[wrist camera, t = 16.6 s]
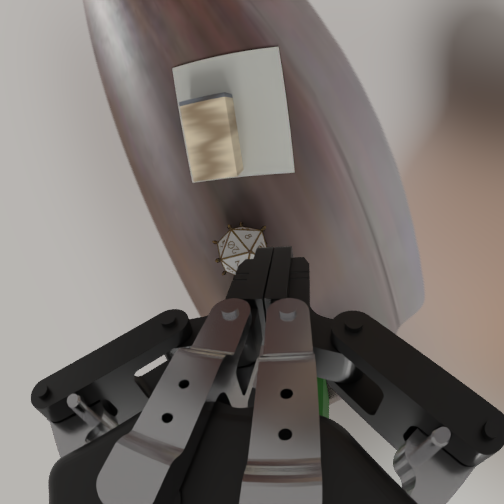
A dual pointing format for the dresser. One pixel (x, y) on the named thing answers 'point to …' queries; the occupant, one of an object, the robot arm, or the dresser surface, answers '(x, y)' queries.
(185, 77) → the felt mat
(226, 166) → the maple block
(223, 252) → the game die
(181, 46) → the dresser surface
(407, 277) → the dresser surface
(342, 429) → the robot arm
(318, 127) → the dresser surface
